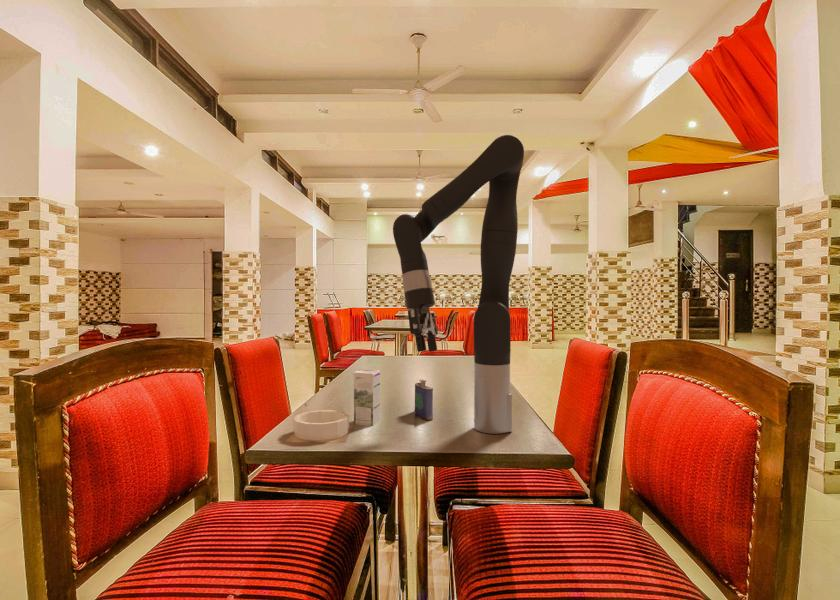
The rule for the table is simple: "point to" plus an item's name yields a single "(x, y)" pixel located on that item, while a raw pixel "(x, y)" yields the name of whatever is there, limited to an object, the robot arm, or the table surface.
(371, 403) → the syrup box
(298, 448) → the table surface
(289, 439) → the placemat
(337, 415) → the bowl
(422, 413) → the flask
